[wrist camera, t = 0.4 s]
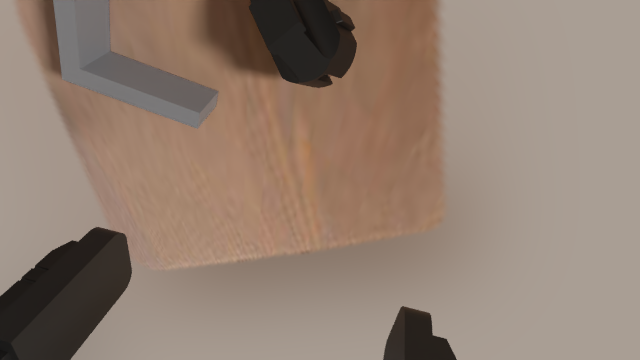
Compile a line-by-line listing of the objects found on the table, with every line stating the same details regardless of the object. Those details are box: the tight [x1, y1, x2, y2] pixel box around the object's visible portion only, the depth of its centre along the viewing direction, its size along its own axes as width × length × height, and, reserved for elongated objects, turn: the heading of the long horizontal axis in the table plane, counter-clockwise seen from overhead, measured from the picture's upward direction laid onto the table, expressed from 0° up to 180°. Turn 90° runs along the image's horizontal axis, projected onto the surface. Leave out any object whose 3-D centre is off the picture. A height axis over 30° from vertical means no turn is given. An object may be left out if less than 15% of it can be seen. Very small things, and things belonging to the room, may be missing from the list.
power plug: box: [249, 0, 357, 88], centre depth 27 cm, size 6×8×12 cm
